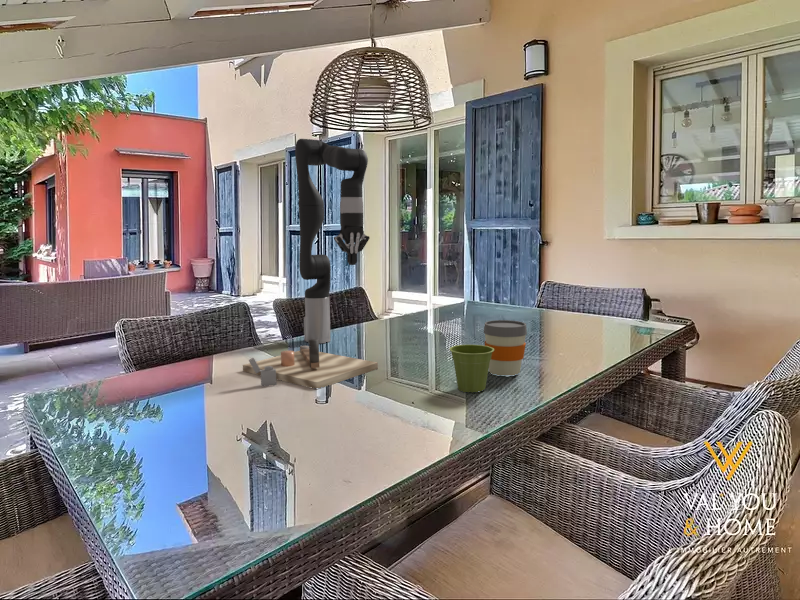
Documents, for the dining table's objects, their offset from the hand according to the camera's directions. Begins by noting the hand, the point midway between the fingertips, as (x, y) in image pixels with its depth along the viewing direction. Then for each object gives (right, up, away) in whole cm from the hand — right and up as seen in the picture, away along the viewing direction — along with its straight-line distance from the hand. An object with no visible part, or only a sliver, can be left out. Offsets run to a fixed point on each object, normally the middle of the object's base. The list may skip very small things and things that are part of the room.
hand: (352, 264), depth 177 cm
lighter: (-22, -36, -28) cm, 50 cm away
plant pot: (+35, -36, -33) cm, 60 cm away
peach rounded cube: (-18, -31, -14) cm, 39 cm away
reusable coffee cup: (+47, -34, -17) cm, 60 cm away
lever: (-12, -30, -10) cm, 34 cm away
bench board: (-12, -33, -12) cm, 37 cm away
